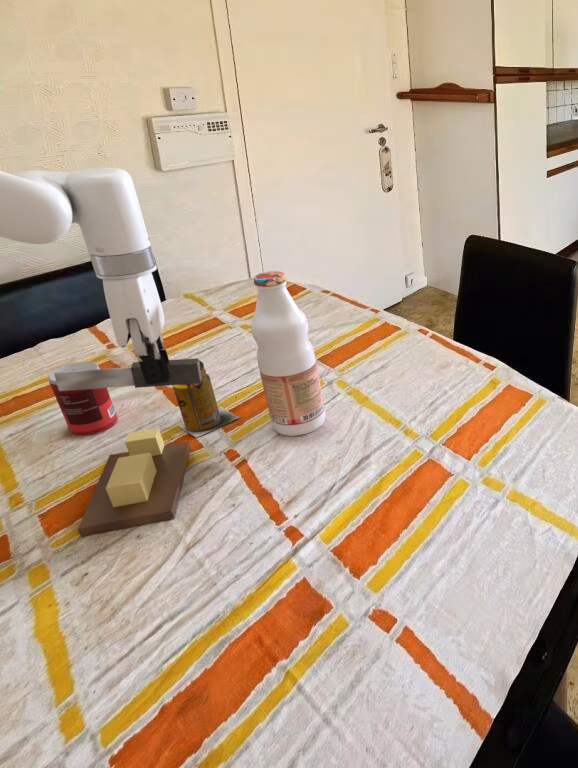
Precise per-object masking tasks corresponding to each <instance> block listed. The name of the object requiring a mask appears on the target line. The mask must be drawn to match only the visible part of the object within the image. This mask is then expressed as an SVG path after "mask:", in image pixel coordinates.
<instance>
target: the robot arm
mask: <svg viewBox="0 0 578 768" xmlns="http://www.w3.org/2000/svg"><path fill="white" fill-rule="evenodd" d="M72 224H77V225H78V226H79V228H80V230H81V234H82V237H83V240H84V242H85V247H86V249H87V252H88V254H89V259H90V261H91V264H92V267H93V270H94V273H95V277H96V278H97V279H98V280H99V279H100V280H102V286H103V287H102V288H103V292H104V297H105V302H106V306H107V311H108V314H109V318H110V322H111V325H112V329H113V332H114V336H115V340H116V343H117V345H118V346H119V347H121V348H126V346H128V345H129V344H128V343H129V342H130V340H131V343H132V348H133V353H134V357H136V358H137V360H138V361H137V362H139V364H140V367H141V370H142V373H143V376H144V379H145V383H146V384H156V383H164V382H168V381H169V375H168V372H167V368H166V365H165V361H164V360H170V359H169V356H168V352H167V349H166V348H165V347H166V346H165V342H164V337H163V335H162V331H163V328H164V325H165V321H166V320H165V314H164V309H163V305H162V301H161V298H160V295H159V291H158V289H157V285H156V282H155V279H154V275H153V272H155V271H157V269H158V266H157V262H156V259H155V255H154V252H153V249H152V245H151V241H150V237H149V235H148V231H147V227H146V224H145V220H144V217H143V213H142V209H141V206H140V201H139V198H138V194H137V191H136V187H135V183H134V181H133V178H132V176H131V175H130V174H129V172H128V171H126V170H125V169H123V168H118V167H92V168H91V167H90V168H84V169H79V170H75V171H55V170H33V169H32V170H22V171H18V172H14V173H12V174H11V173H8V172H6V171H3V170H0V238H3V239H7V240H11V241H16V242H18V243H24V244H31V245H32V244H33V245H42V244H43V245H44V244H50V243H54V242H56V241H58V240H60V239H61V238H63V237H64V236H66V235H67V234H68V232H69V230H70V229H71V227H72Z"/></svg>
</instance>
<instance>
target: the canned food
mask: <svg viewBox="0 0 578 768" xmlns="http://www.w3.org/2000/svg"><path fill="white" fill-rule="evenodd" d="M94 369H101V368H100V366H99V365H98V363H96V362H93V361H79V362H73V363H69V364H66V365H62V366H60V367H58V368H56V369H54V370H52V371H51V372H49V374H48V376H47V378H48V382H49V385H50V388H51V390H52V392H53V395H54V398H55V399H56V401H57V404H58V406H59V409H60V411H61V414H62V416H63V419H64V420H65V423H66V426H67V428H68V429H69V431H70V432H71V433H73V434H74V435H78V436H90V435H95V434H98V433H102V432H103V431H106V430H108V429H110V428H111V427H112V426H114V424H116V422H117V412H116V409H115V407H114V404H113V401H112V398H111V395H110V392H109V390H108V388H96V389H82V390H69V391H59V389H58V385H57V382H56V379H55V375H54V372H63V371H78V370H94Z"/></svg>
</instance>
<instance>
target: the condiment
mask: <svg viewBox="0 0 578 768" xmlns="http://www.w3.org/2000/svg"><path fill="white" fill-rule="evenodd" d="M199 365H200V370H201V376H202V378H201V382H200V383H194V384H180V385H171V386H172V389H173V393H174V395H175V398H176V402H177V405H178V408H179V411H180V415H181V418H182V420H183V421H182V422H179V423H176V426H178V428H180V429H182V430H183V431H184V432H186V433H188V434H189V435H191V436H193V437H194V438H198V437H201V436H203V435H205V434H206V435H207V434H208V433H210V432H212V431H214V430H217V429H218V428H221V427H222V426H225V425H227V424H229V423H231V422H234V421H235V420H237V419H240V418H241V417H240V416H239V415H236V414H234V413H233V412H231V411H229V410H228V409H227V408H224V407H223V406H221V405H218V402H217V399H216V395H215V391H214V389H213V384H212V381H211V377H210V375H209V374H208V373H207V370H206V368H205V365H204V362H202V361H201V360H199Z"/></svg>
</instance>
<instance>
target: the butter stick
mask: <svg viewBox="0 0 578 768" xmlns="http://www.w3.org/2000/svg"><path fill="white" fill-rule="evenodd" d="M156 471H157V470H156V467H155V465H154V462H153V459H152V456H151V453H145V454H139V455H133V456H127V457H121V458H118V460H117V462H116V465H115V467H114V470H113V472H112V475H111V477H110V479H109V482H108V484H107V487H106V490H107V493H108V495H109V498H110V500H111V503H112V505H113V507H118V506H124V505H129V504H134V503H140V502H145V501H147V500H148V497H149V494H150V491H151V487H152V484H153V481H154V478H155V474H156Z"/></svg>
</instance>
